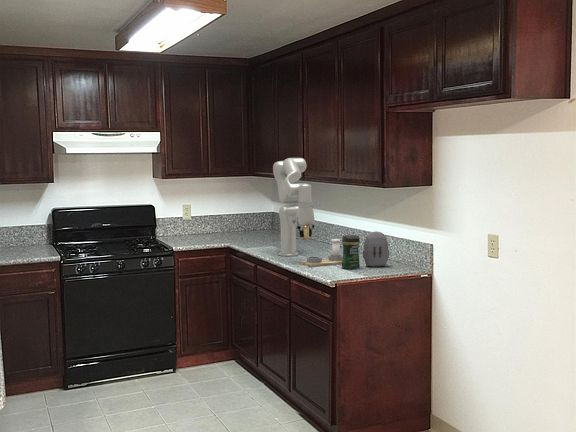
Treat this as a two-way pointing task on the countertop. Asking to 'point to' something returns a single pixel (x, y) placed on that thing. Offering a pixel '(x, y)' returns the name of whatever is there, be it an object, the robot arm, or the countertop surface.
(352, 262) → the coffee jar
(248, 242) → the countertop surface
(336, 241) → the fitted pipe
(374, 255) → the grey rounded bag
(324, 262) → the board
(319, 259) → the socket
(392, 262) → the countertop surface
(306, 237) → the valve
